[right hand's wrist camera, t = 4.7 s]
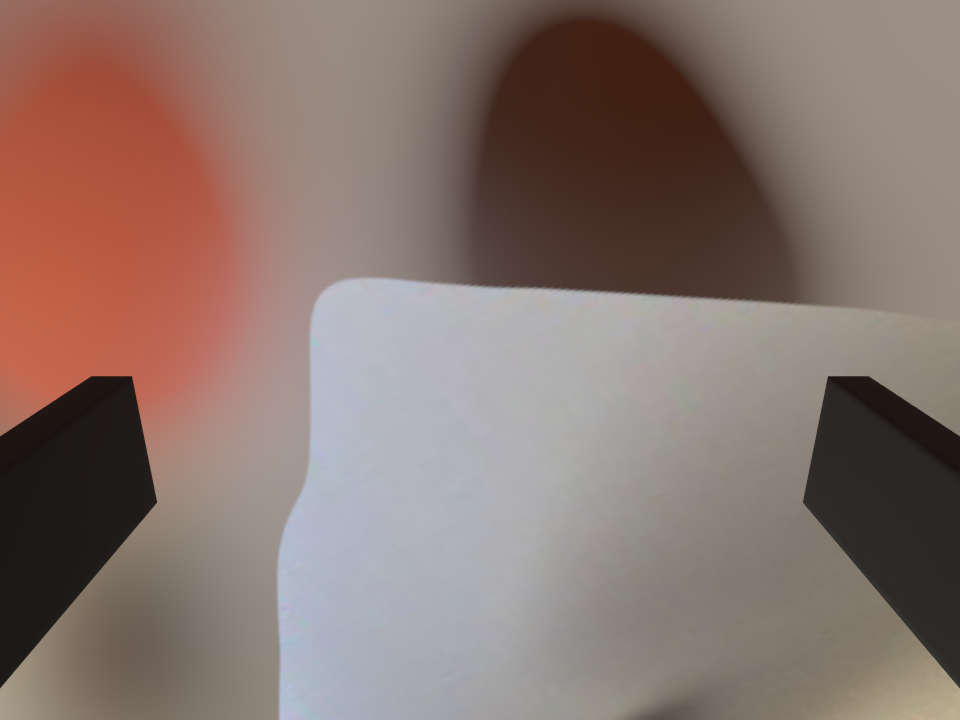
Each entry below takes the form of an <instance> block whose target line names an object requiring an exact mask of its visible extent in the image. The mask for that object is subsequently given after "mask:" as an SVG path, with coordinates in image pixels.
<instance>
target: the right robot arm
mask: <svg viewBox="0 0 960 720" xmlns="http://www.w3.org/2000/svg"><path fill="white" fill-rule="evenodd" d="M156 503H157V500H156V495H155V490H154V485H153V480H152V475H151V470H150V465H149V459H148V455H147V449H146V444H145V440H144V434H143V429H142V424H141V419H140V414H139V410H138V404H137V400H136V394H135V389H134V384H133V379H132V376H91V377H90V378H88V379H87V380H85V381H84V382H82V383H81V384H79V385H77V386H76V387H74V388H73V389H71V390H70V391H68V392H67V393H65V394H64V395H62V396H61V397H59V398H58V399H56V400H55V401H53V402H52V403H50V404H49V405H47V406H46V407H44V408H43V409H41V410H40V411H38V412H37V413H35V414H34V415H32V416H30V417H29V418H27V419H26V420H24V421H23V422H21V423H20V424H18V425H17V426H15V427H14V428H12V429H11V430H9V431H8V432H6V433H5V434H3V435H2V436H0V688H1V687H2V685H3V684H4V683H5V682H6V681H7V680H8V678H9V677H10V676H11V675H12V674H13V672H14V671H15V670H16V669H17V668H18V667H19V665H20V664H21V663H22V662H23V661H24V659H25V658H26V657H27V656H28V655H29V654H30V652H31V651H32V650H33V649H34V648H35V646H36V645H37V644H38V643H39V642H40V640H41V639H42V638H43V637H44V636H45V635H46V633H47V632H48V631H49V630H50V629H51V627H52V626H53V625H54V624H55V623H56V622H57V620H58V619H59V618H60V617H61V616H62V614H63V613H64V612H65V611H66V610H67V608H68V607H69V606H70V605H71V604H72V603H73V601H74V600H75V599H76V598H77V597H78V595H79V594H80V593H81V592H82V591H83V590H84V588H85V587H86V586H87V585H88V584H89V582H90V581H91V580H92V579H93V578H94V577H95V575H96V574H97V573H98V572H99V571H100V569H101V568H102V567H103V566H104V565H105V563H106V562H107V561H108V560H109V559H110V558H111V556H112V555H113V554H114V553H115V552H116V550H117V549H118V548H119V547H120V546H121V545H122V543H123V542H124V541H125V540H126V539H127V537H128V536H129V535H130V534H131V533H132V531H133V530H134V529H135V528H136V527H137V526H138V524H139V523H140V522H141V521H142V520H143V519H144V517H145V516H146V515H147V514H148V513H149V511H150V510H151V509H152V508H153V507H154V505H155V504H156ZM803 503H804V504H805V506H806V507H807V508H808V509H809V510H810V511H811V513H812V514H813V515H814V516H815V517H816V519H817V520H818V521H819V522H820V523H821V524H822V526H823V527H824V528H825V529H826V530H827V532H828V533H829V534H830V535H831V536H832V537H833V539H834V540H835V541H836V542H837V543H838V545H839V546H840V547H841V548H842V549H843V551H844V552H845V553H846V554H847V555H848V556H849V558H850V559H851V560H852V561H853V562H854V564H855V565H856V566H857V567H858V568H859V569H860V571H861V572H862V573H863V574H864V575H865V577H866V578H867V579H868V580H869V581H870V582H871V584H872V585H873V586H874V587H875V588H876V590H877V591H878V592H879V593H880V594H881V595H882V597H883V598H884V599H885V600H886V601H887V603H888V604H889V605H890V606H891V607H892V609H893V610H894V611H895V612H896V613H897V614H898V616H899V617H900V618H901V619H902V620H903V622H904V623H905V624H906V625H907V626H908V627H909V629H910V630H911V631H912V632H913V633H914V635H915V636H916V637H917V638H918V639H919V640H920V642H921V643H922V644H923V645H924V646H925V648H926V649H927V650H928V651H929V652H930V654H931V655H932V656H933V657H934V658H935V659H936V661H937V662H938V663H939V664H940V665H941V667H942V668H943V669H944V670H945V671H946V672H947V674H948V675H949V676H950V677H951V678H952V680H953V681H954V682H955V683H956V684H957V685H958V687H959V688H960V436H958V435H957V434H955V433H954V432H952V431H951V430H949V429H948V428H946V427H945V426H943V425H942V424H940V423H939V422H937V421H936V420H934V419H933V418H931V417H930V416H928V415H927V414H925V413H923V412H922V411H920V410H919V409H917V408H916V407H914V406H913V405H911V404H910V403H908V402H907V401H905V400H904V399H902V398H901V397H899V396H898V395H896V394H895V393H893V392H892V391H890V390H889V389H887V388H886V387H884V386H883V385H881V384H879V383H878V382H876V381H875V380H873V379H872V378H870V377H869V376H828V379H827V384H826V389H825V394H824V399H823V404H822V409H821V414H820V419H819V424H818V429H817V434H816V439H815V444H814V449H813V454H812V459H811V464H810V470H809V475H808V480H807V485H806V490H805V495H804V500H803Z"/></svg>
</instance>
